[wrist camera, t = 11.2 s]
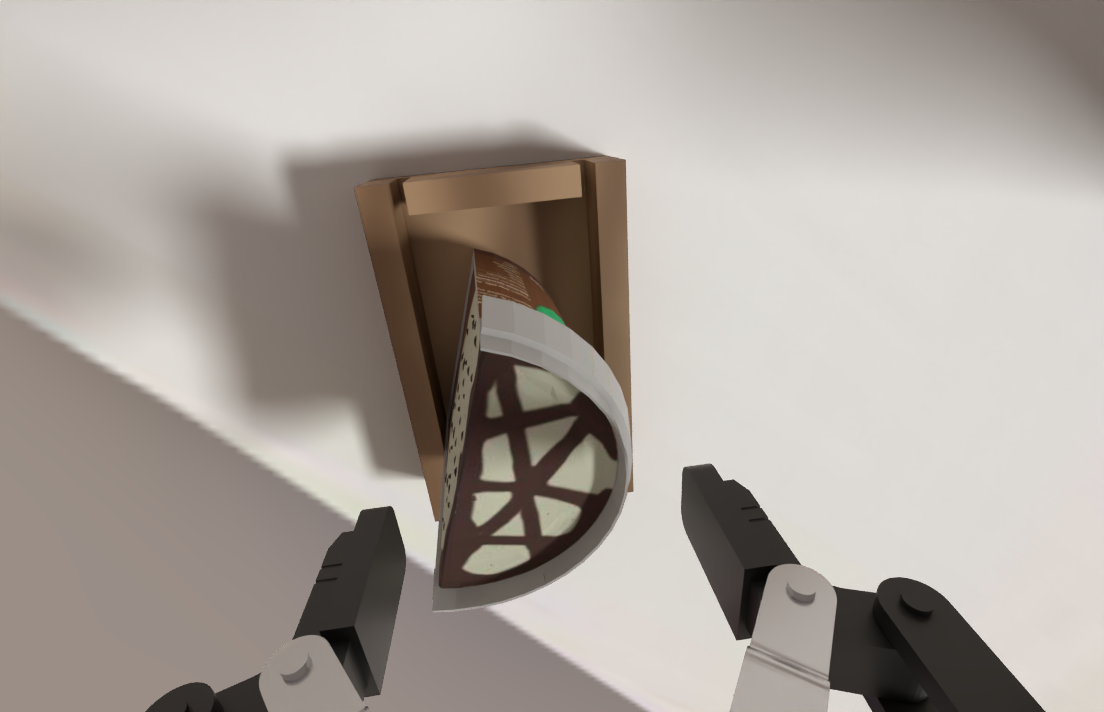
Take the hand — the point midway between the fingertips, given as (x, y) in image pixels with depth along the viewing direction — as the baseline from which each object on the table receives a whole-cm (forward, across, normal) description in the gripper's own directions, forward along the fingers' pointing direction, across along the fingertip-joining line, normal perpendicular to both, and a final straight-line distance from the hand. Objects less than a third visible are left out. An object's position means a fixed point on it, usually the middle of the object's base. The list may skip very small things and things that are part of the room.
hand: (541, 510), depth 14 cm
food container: (+12, 0, 0) cm, 12 cm away
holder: (+13, 0, 0) cm, 13 cm away
